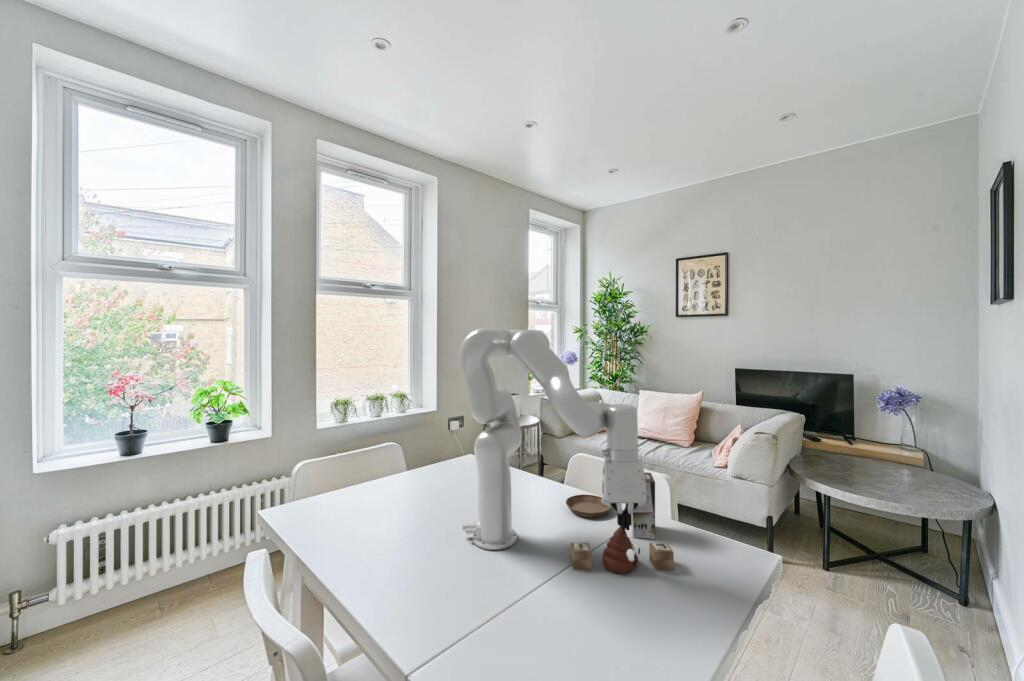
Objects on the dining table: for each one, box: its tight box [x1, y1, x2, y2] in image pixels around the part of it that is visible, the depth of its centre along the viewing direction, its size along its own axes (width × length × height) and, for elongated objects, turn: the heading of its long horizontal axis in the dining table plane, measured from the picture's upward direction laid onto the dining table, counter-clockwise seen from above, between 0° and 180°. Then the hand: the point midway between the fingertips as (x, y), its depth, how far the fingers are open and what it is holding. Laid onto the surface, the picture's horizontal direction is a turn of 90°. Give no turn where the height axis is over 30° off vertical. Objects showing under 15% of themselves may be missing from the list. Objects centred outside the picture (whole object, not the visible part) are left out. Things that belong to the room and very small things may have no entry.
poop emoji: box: [601, 526, 641, 575], centre depth 103 cm, size 10×8×9 cm
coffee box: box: [630, 471, 656, 540], centre depth 121 cm, size 9×6×16 cm
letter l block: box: [648, 542, 675, 571], centre depth 103 cm, size 4×4×5 cm
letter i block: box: [570, 542, 592, 571], centre depth 104 cm, size 4×4×5 cm
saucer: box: [565, 494, 612, 518], centre depth 137 cm, size 15×15×3 cm
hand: (624, 527), depth 103 cm, fingers closed
